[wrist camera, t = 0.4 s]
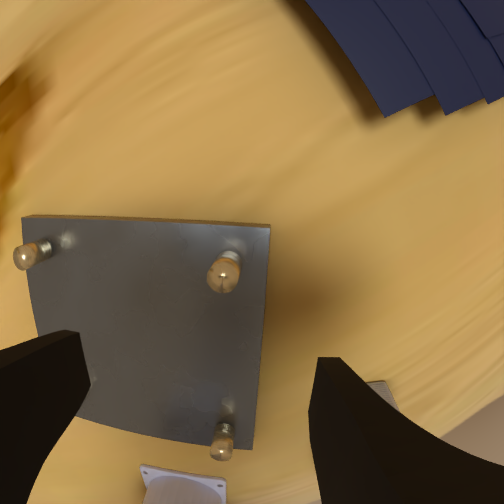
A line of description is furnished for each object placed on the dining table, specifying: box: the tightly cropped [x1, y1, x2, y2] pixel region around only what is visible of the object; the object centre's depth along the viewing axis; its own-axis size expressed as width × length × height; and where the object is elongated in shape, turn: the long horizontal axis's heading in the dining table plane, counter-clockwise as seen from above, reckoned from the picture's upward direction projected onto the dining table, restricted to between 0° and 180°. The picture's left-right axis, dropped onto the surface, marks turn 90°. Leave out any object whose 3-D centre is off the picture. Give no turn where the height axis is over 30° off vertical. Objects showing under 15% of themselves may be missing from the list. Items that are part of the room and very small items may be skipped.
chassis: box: [13, 215, 270, 461], centre depth 18 cm, size 16×16×4 cm
